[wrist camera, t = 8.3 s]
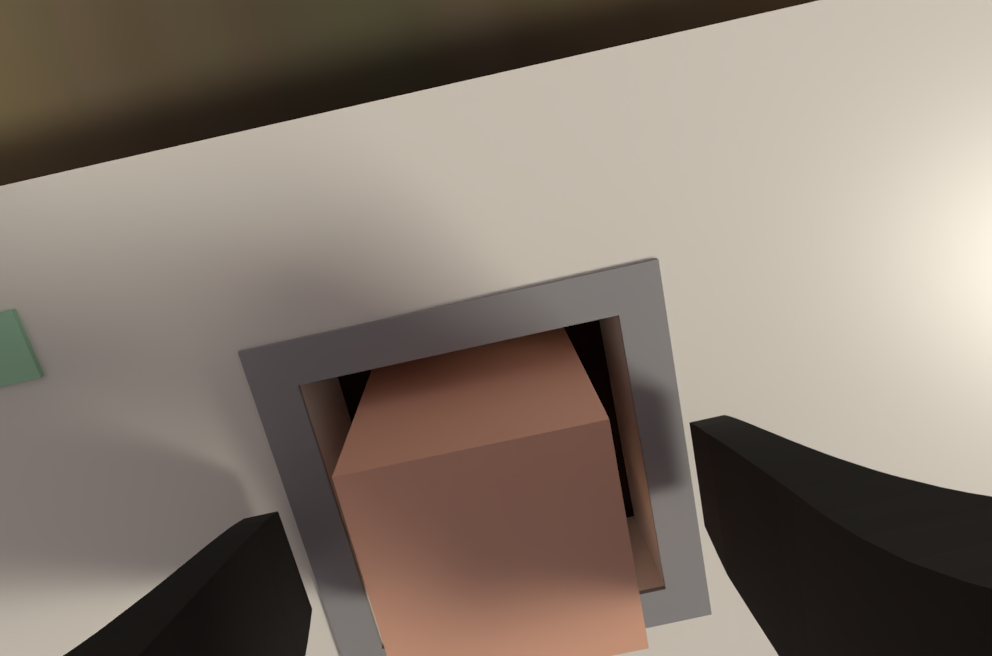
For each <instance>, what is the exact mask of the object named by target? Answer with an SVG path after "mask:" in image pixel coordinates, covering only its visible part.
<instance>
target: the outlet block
mask: <svg viewBox="0 0 992 656" xmlns="http://www.w3.org/2000/svg"><path fill="white" fill-rule="evenodd" d="M594 320H599V323H600V329H601V334H602V340H603V346H604V351H605V357H606V362H607V368H608V373H609V379H610V385H611V390H612V396H613V401H614V407H615V412H616V418H617V423H618V429H619V435H620V440H621V446H622V451H623V457H624V462H625V468H626V473H627V479H628V485H629V490H630V496H631V501H632V507H633V512H634V516H631V517H627V518H626V519H627V524H628V530H629V536H630V542H631V548H632V553H633V559H634V565H635V571H636V576H637V582H638V588H639V594H640V600H641V605H642V611H643V617H644V623H645V629H646V634H647V640H648V646H649V648H647V649H643V650H638V651H633V652H628V653H623V654H618V655H613V656H779V655H778V654H777V652H776V651H775V649H774V648H773V646H772V644H771V643H770V641H769V640H768V638H767V637H766V635H765V634H764V632H763V630H762V629H761V627H760V626H759V624H758V623H757V621H756V620H755V618H754V617H753V615H752V613H751V612H750V610H749V609H748V607H747V606H746V604H745V602H744V601H743V599H742V598H741V596H740V594H739V593H738V591H737V590H736V588H735V587H734V585H733V583H732V582H731V580H730V579H729V577H728V575H727V573H726V571H725V569H724V567H723V565H722V563H721V561H720V559H719V557H718V554H717V552H716V550H715V548H714V546H713V544H712V541H711V539H710V537H709V535H708V532H707V530H706V528H705V526H704V519H703V512H702V505H701V498H700V492H699V485H698V478H697V471H696V464H695V458H694V451H693V444H692V437H691V430H690V424H689V422H694V421H699V420H703V419H708V418H713V417H717V416H722V415H727V416H730V417H734V418H737V419H739V420H742V421H744V422H747V423H750V424H752V425H755V426H757V427H759V428H762V429H764V430H767V431H769V432H772V433H774V434H776V435H779V436H781V437H784V438H786V439H789V440H791V441H794V442H796V443H799V444H801V445H804V446H807V447H809V448H812V449H814V450H817V451H820V452H823V453H825V454H828V455H831V456H834V457H836V458H839V459H842V460H845V461H848V462H852V463H855V464H858V465H861V466H864V467H867V468H870V469H873V470H876V471H880V472H883V473H887V474H890V475H894V476H898V477H902V478H906V479H910V480H914V481H918V482H922V483H926V484H930V485H934V486H938V487H943V488H948V489H953V490H958V491H963V492H968V493H974V494H980V495H986V496H992V0H818V1H814V2H810V3H805V4H801V5H796V6H792V7H788V8H783V9H779V10H774V11H770V12H766V13H761V14H757V15H752V16H748V17H743V18H739V19H735V20H730V21H726V22H721V23H717V24H713V25H708V26H704V27H699V28H695V29H691V30H686V31H682V32H677V33H673V34H669V35H664V36H660V37H655V38H651V39H646V40H642V41H638V42H633V43H629V44H624V45H620V46H616V47H611V48H607V49H602V50H598V51H594V52H589V53H585V54H580V55H576V56H572V57H567V58H563V59H558V60H554V61H549V62H545V63H541V64H536V65H532V66H527V67H523V68H519V69H514V70H510V71H505V72H501V73H497V74H492V75H488V76H483V77H479V78H475V79H470V80H466V81H461V82H457V83H452V84H448V85H444V86H439V87H435V88H430V89H426V90H422V91H417V92H413V93H408V94H404V95H400V96H395V97H391V98H386V99H382V100H378V101H373V102H369V103H364V104H360V105H355V106H351V107H347V108H342V109H338V110H333V111H329V112H325V113H320V114H316V115H311V116H307V117H303V118H298V119H294V120H289V121H285V122H281V123H276V124H272V125H267V126H263V127H259V128H254V129H250V130H245V131H241V132H236V133H232V134H228V135H223V136H219V137H214V138H210V139H206V140H201V141H197V142H192V143H188V144H184V145H179V146H175V147H170V148H166V149H162V150H157V151H153V152H148V153H144V154H139V155H135V156H131V157H126V158H122V159H117V160H113V161H109V162H104V163H100V164H95V165H91V166H87V167H82V168H78V169H73V170H69V171H65V172H60V173H56V174H51V175H47V176H42V177H38V178H34V179H29V180H25V181H20V182H16V183H12V184H7V185H3V186H0V656H63V655H65V654H66V653H68V652H69V651H71V650H72V649H74V648H75V647H77V646H78V645H79V644H81V643H82V642H84V641H85V640H87V639H88V638H89V637H91V636H92V635H94V634H95V633H96V632H98V631H99V630H100V629H102V628H103V627H104V626H106V625H107V624H108V623H110V622H111V621H112V620H113V619H115V618H116V617H117V616H119V615H120V614H121V613H123V612H124V611H125V610H127V609H128V608H129V607H130V606H132V605H133V604H134V603H136V602H137V601H138V600H140V599H141V598H142V597H143V596H145V595H146V594H147V593H149V592H150V591H151V590H153V589H154V588H155V587H156V586H158V585H159V584H160V583H161V582H162V581H164V580H165V579H166V578H167V577H169V576H170V575H171V574H172V573H173V572H175V571H176V570H177V569H178V568H180V567H181V566H182V565H183V564H184V563H186V562H187V561H188V560H189V559H191V558H192V557H193V556H194V555H195V554H197V553H198V552H199V551H200V550H202V549H203V548H204V547H205V546H207V545H208V544H209V543H210V542H212V541H213V540H214V539H215V538H217V537H218V536H219V535H220V534H222V533H223V532H224V531H226V530H227V529H228V528H230V527H231V526H233V525H234V524H236V523H237V522H239V521H241V520H242V519H244V518H249V517H253V516H258V515H263V514H267V513H272V512H276V511H278V513H279V515H280V518H281V521H282V524H283V527H284V530H285V533H286V535H287V538H288V541H289V544H290V547H291V550H292V553H293V556H294V558H295V561H296V564H297V567H298V570H299V573H300V576H301V579H302V581H303V584H304V587H305V590H306V593H307V596H308V599H309V601H310V604H311V607H312V615H311V622H310V630H309V637H308V644H307V649H306V655H305V656H387V654H386V651H385V648H384V645H383V641H382V638H381V635H380V632H379V628H378V625H377V622H376V619H375V615H374V612H373V609H372V606H371V602H370V599H369V596H368V593H367V589H366V586H365V583H364V580H363V576H362V573H361V570H360V567H359V563H358V560H357V557H356V554H355V550H354V547H353V544H352V541H351V537H350V534H349V531H348V528H347V525H346V521H345V518H344V515H343V512H342V508H341V505H340V502H339V499H338V495H337V492H336V489H335V486H334V482H333V479H332V476H333V473H334V470H335V467H336V465H337V462H338V459H339V457H340V454H341V451H342V449H343V446H344V443H345V441H346V438H347V435H348V432H349V430H350V427H351V424H352V422H351V418H350V415H349V412H348V408H347V405H346V402H345V399H344V395H343V392H342V389H341V385H340V382H339V379H338V377H339V376H343V375H348V374H353V373H357V372H362V371H366V370H371V369H375V368H380V367H385V366H389V365H394V364H398V363H403V362H407V361H412V360H416V359H421V358H426V357H430V356H435V355H439V354H444V353H448V352H453V351H457V350H462V349H467V348H471V347H476V346H480V345H485V344H489V343H494V342H499V341H503V340H508V339H512V338H517V337H521V336H526V335H530V334H535V333H540V332H544V331H549V330H553V329H558V328H562V327H567V326H572V325H576V324H581V323H585V322H590V321H594Z"/></svg>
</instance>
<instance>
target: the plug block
mask: <svg viewBox="0 0 992 656" xmlns="http://www.w3.org/2000/svg"><path fill="white" fill-rule="evenodd" d="M332 479H333V482H334V486H335V489H336V492H337V495H338V499H339V502H340V505H341V508H342V512H343V515H344V518H345V521H346V525H347V528H348V531H349V534H350V537H351V541H352V544H353V547H354V550H355V554H356V557H357V560H358V563H359V567H360V570H361V573H362V576H363V580H364V583H365V586H366V589H367V593H368V596H369V599H370V602H371V606H372V609H373V612H374V615H375V619H376V622H377V625H378V628H379V632H380V635H381V638H382V641H383V645H384V648H385V651H386V654H387V656H613V655H618V654H623V653H628V652H633V651H638V650H643V649H647V648H649V646H648V640H647V634H646V629H645V623H644V617H643V611H642V605H641V600H640V594H639V588H638V582H637V576H636V571H635V565H634V559H633V553H632V548H631V542H630V536H629V530H628V524H627V519H626V513H625V507H624V501H623V495H622V490H621V484H620V478H619V472H618V466H617V461H616V455H615V449H614V443H613V437H612V432H611V426H610V420H609V418H608V416H607V413H606V411H605V409H604V407H603V405H602V403H601V401H600V399H599V397H598V395H597V393H596V391H595V389H594V387H593V385H592V383H591V381H590V379H589V377H588V375H587V373H586V371H585V369H584V367H583V365H582V363H581V361H580V359H579V357H578V355H577V353H576V351H575V349H574V347H573V345H572V343H571V341H570V339H569V337H568V335H567V333H566V331H565V329H564V327H562V328H558V329H553V330H549V331H544V332H540V333H535V334H530V335H526V336H521V337H517V338H512V339H508V340H503V341H499V342H494V343H489V344H485V345H480V346H476V347H471V348H467V349H462V350H457V351H453V352H448V353H444V354H439V355H435V356H430V357H426V358H421V359H416V360H412V361H407V362H403V363H398V364H394V365H389V366H385V367H380V368H375V369H372V370H371V373H370V376H369V378H368V381H367V384H366V387H365V389H364V392H363V395H362V397H361V400H360V403H359V405H358V408H357V411H356V414H355V416H354V419H353V422H352V424H351V427H350V430H349V432H348V435H347V438H346V441H345V443H344V446H343V449H342V451H341V454H340V457H339V459H338V462H337V465H336V467H335V470H334V473H333V476H332Z"/></svg>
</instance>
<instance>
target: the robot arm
mask: <svg viewBox="0 0 992 656" xmlns="http://www.w3.org/2000/svg"><path fill="white" fill-rule="evenodd" d="M689 424H690V430H691V437H692V444H693V451H694V458H695V464H696V471H697V478H698V485H699V492H700V498H701V505H702V512H703V519H704V526H705V528H706V530H707V532H708V535H709V537H710V539H711V541H712V544H713V546H714V548H715V550H716V552H717V554H718V557H719V559H720V561H721V563H722V565H723V567H724V569H725V571H726V573H727V575H728V577H729V579H730V580H731V582H732V583H733V585H734V587H735V588H736V590H737V591H738V593H739V594H740V596H741V598H742V599H743V601H744V602H745V604H746V606H747V607H748V609H749V610H750V612H751V613H752V615H753V617H754V618H755V620H756V621H757V623H758V624H759V626H760V627H761V629H762V630H763V632H764V634H765V635H766V637H767V638H768V640H769V641H770V643H771V644H772V646H773V648H774V649H775V651H776V652H777V654H778V655H779V656H992V496H986V495H980V494H974V493H968V492H963V491H958V490H953V489H948V488H943V487H938V486H934V485H930V484H926V483H922V482H918V481H914V480H910V479H906V478H902V477H898V476H894V475H890V474H887V473H883V472H880V471H876V470H873V469H870V468H867V467H864V466H861V465H858V464H855V463H852V462H848V461H845V460H842V459H839V458H836V457H834V456H831V455H828V454H825V453H823V452H820V451H817V450H814V449H812V448H809V447H807V446H804V445H801V444H799V443H796V442H794V441H791V440H789V439H786V438H784V437H781V436H779V435H776V434H774V433H772V432H769V431H767V430H764V429H762V428H759V427H757V426H755V425H752V424H750V423H747V422H744V421H742V420H739V419H737V418H734V417H730V416H727V415H722V416H717V417H713V418H708V419H703V420H699V421H694V422H689ZM311 615H312V607H311V604H310V601H309V599H308V596H307V593H306V590H305V587H304V584H303V581H302V579H301V576H300V573H299V570H298V567H297V564H296V561H295V558H294V556H293V553H292V550H291V547H290V544H289V541H288V538H287V535H286V533H285V530H284V527H283V524H282V521H281V518H280V515H279V513H278V511H276V512H272V513H267V514H263V515H258V516H253V517H249V518H244V519H242V520H241V521H239V522H237V523H236V524H234V525H233V526H231V527H230V528H228V529H227V530H226V531H224V532H223V533H222V534H220V535H219V536H218V537H217V538H215V539H214V540H213V541H212V542H210V543H209V544H208V545H207V546H205V547H204V548H203V549H202V550H200V551H199V552H198V553H197V554H195V555H194V556H193V557H192V558H191V559H189V560H188V561H187V562H186V563H184V564H183V565H182V566H181V567H180V568H178V569H177V570H176V571H175V572H173V573H172V574H171V575H170V576H169V577H167V578H166V579H165V580H164V581H162V582H161V583H160V584H159V585H158V586H156V587H155V588H154V589H153V590H151V591H150V592H149V593H147V594H146V595H145V596H143V597H142V598H141V599H140V600H138V601H137V602H136V603H134V604H133V605H132V606H130V607H129V608H128V609H127V610H125V611H124V612H123V613H121V614H120V615H119V616H117V617H116V618H115V619H113V620H112V621H111V622H110V623H108V624H107V625H106V626H104V627H103V628H102V629H100V630H99V631H98V632H96V633H95V634H94V635H92V636H91V637H89V638H88V639H87V640H85V641H84V642H82V643H81V644H79V645H78V646H77V647H75V648H74V649H72V650H71V651H69V652H68V653H66V654H65V655H63V656H305V655H306V649H307V644H308V637H309V630H310V622H311Z"/></svg>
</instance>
